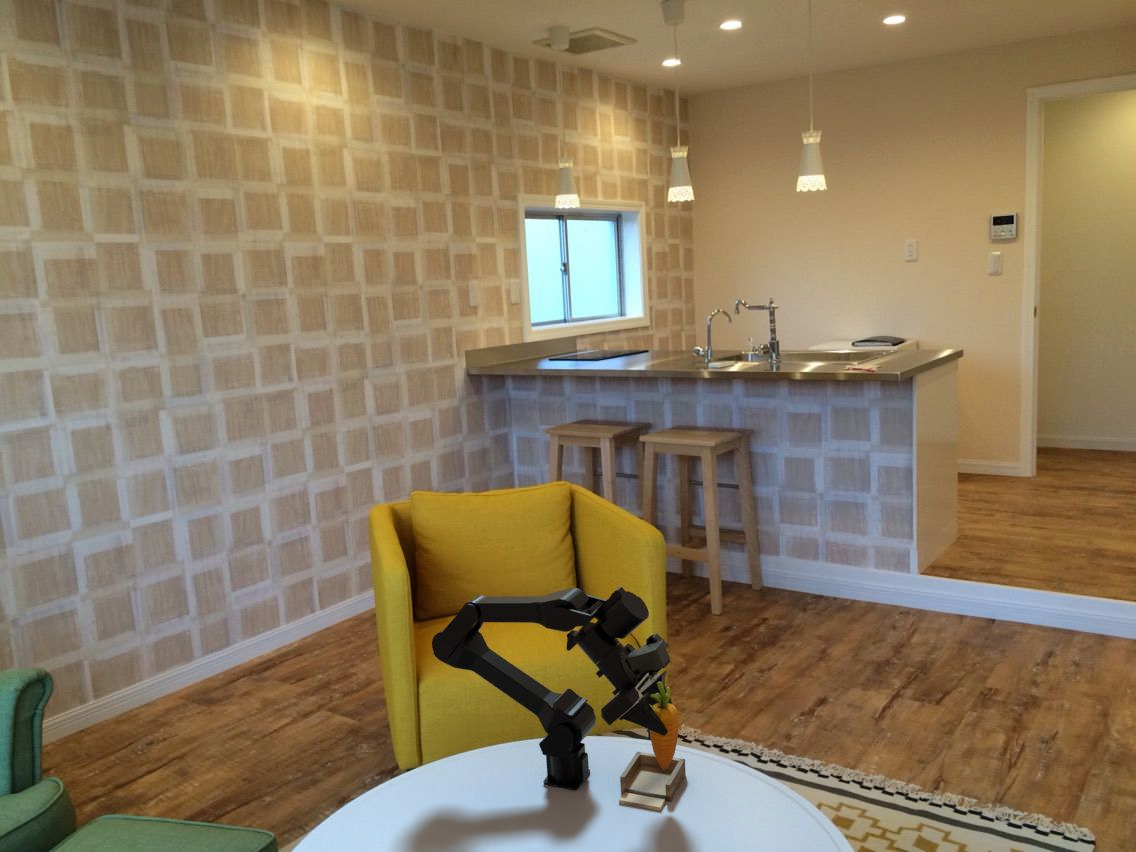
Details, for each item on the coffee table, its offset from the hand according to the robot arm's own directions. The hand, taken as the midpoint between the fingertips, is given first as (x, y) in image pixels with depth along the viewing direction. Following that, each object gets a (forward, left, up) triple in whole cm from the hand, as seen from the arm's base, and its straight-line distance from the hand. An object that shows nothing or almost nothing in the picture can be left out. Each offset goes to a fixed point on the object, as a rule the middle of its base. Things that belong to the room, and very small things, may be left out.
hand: (671, 726), depth 153 cm
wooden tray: (-5, +2, -13) cm, 14 cm away
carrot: (-2, 0, -8) cm, 8 cm away
